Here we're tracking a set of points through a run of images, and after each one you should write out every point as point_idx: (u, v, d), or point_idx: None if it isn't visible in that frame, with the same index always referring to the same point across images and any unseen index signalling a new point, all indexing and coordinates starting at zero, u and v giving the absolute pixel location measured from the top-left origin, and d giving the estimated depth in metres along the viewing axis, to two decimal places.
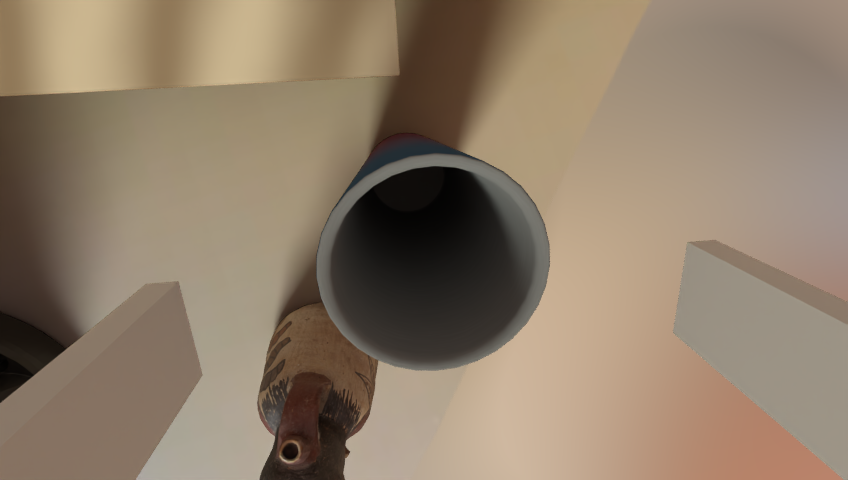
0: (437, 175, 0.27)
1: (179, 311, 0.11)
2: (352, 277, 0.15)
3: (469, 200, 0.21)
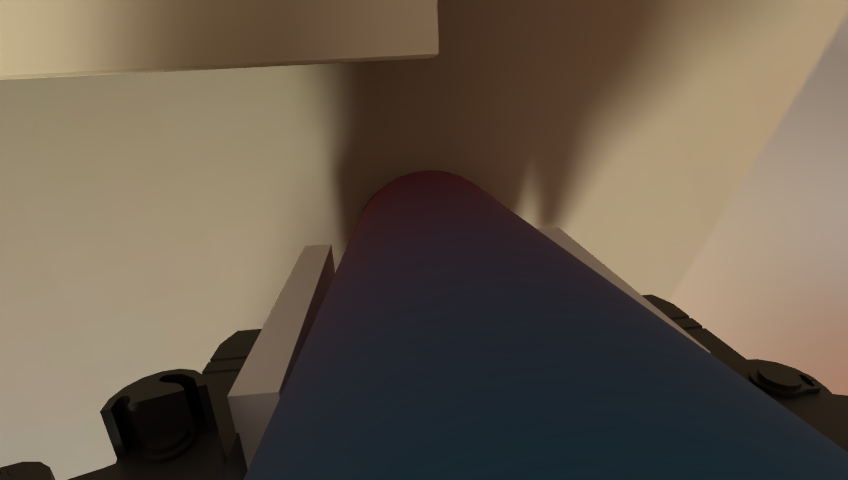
0: None
1: (332, 269, 0.13)
2: None
3: None
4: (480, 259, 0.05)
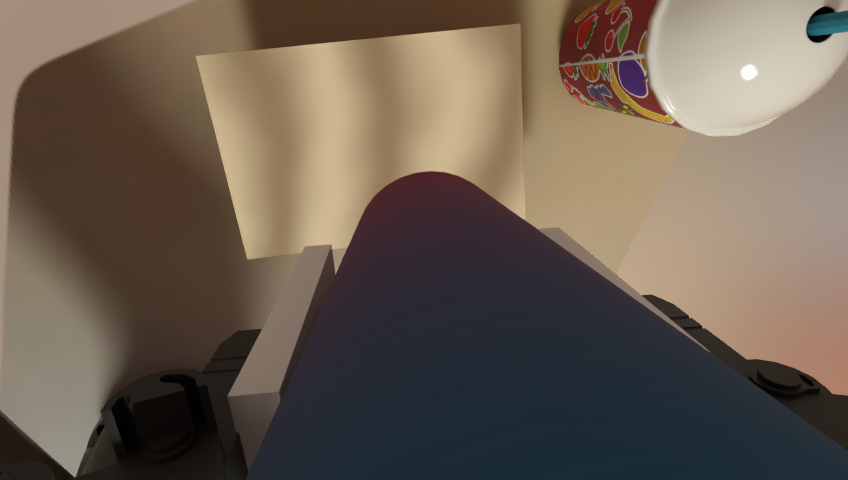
0: None
1: (332, 269, 0.13)
2: None
3: None
4: (481, 259, 0.05)
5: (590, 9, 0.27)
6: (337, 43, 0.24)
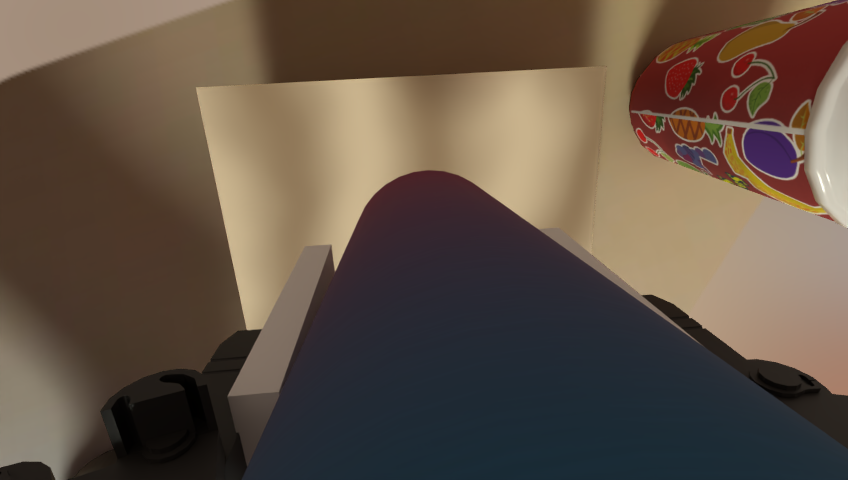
0: None
1: (333, 269, 0.13)
2: None
3: None
4: (479, 257, 0.05)
5: (681, 49, 0.22)
6: (377, 80, 0.19)
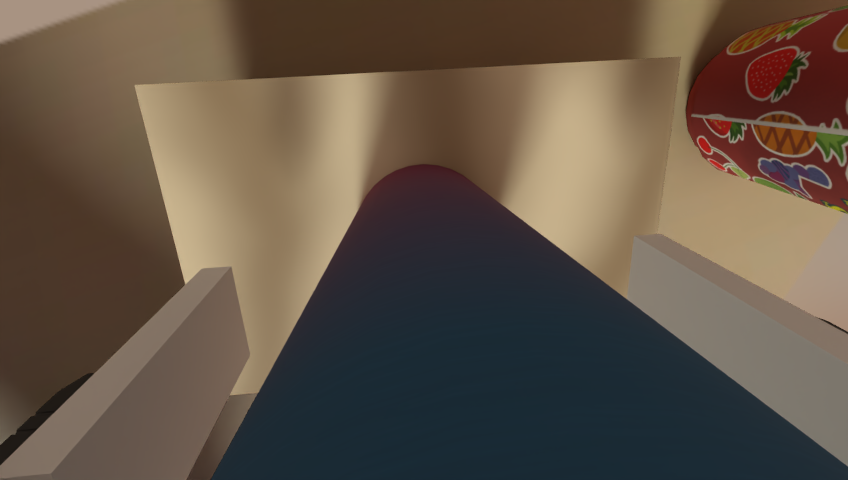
0: None
1: (232, 294, 0.11)
2: None
3: None
4: (450, 227, 0.07)
5: (765, 37, 0.18)
6: (378, 75, 0.14)
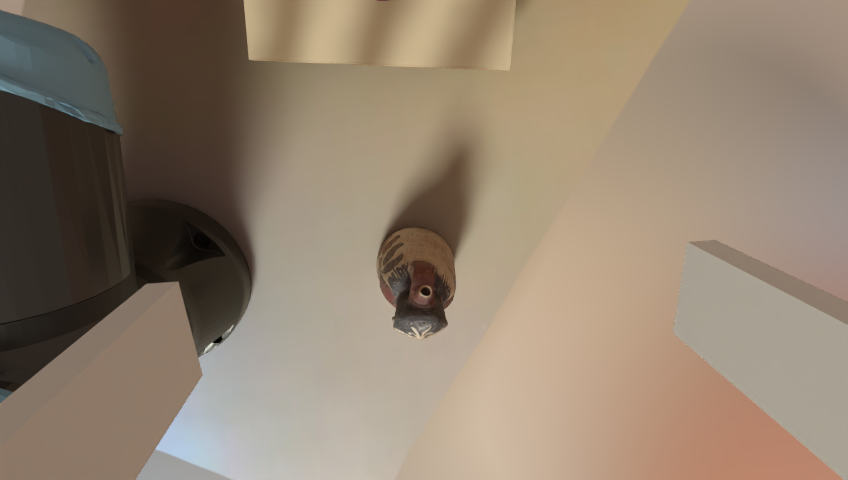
0: None
1: (179, 311, 0.11)
2: None
3: None
4: None
5: None
6: None
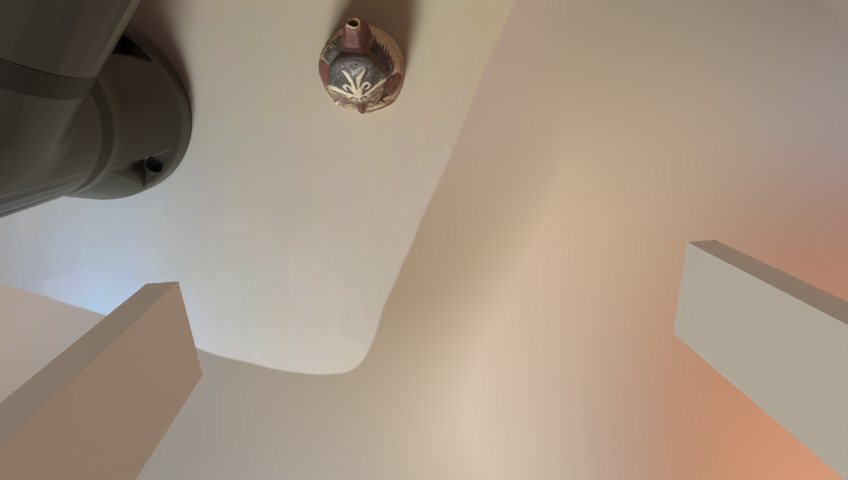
0: None
1: (179, 311, 0.11)
2: None
3: None
4: None
5: None
6: None
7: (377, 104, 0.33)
